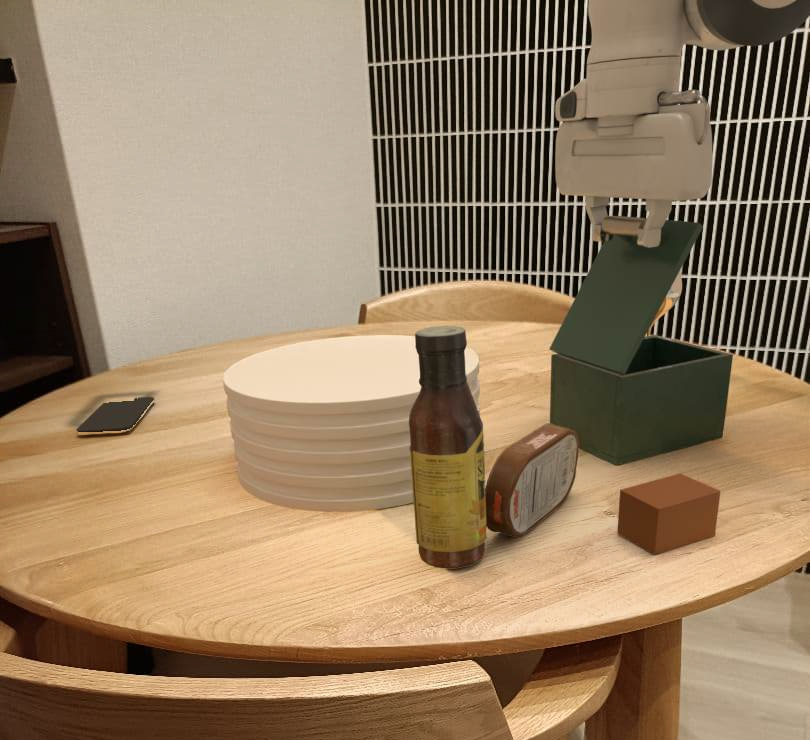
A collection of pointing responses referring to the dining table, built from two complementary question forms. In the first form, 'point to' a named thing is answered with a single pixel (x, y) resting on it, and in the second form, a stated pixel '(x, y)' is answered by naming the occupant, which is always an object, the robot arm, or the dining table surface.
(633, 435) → the bin
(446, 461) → the sauce bottle
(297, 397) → the plate stack
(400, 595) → the dining table surface
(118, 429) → the phone
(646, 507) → the brown rectangular block
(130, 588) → the dining table surface
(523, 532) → the tin
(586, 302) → the bin lid
